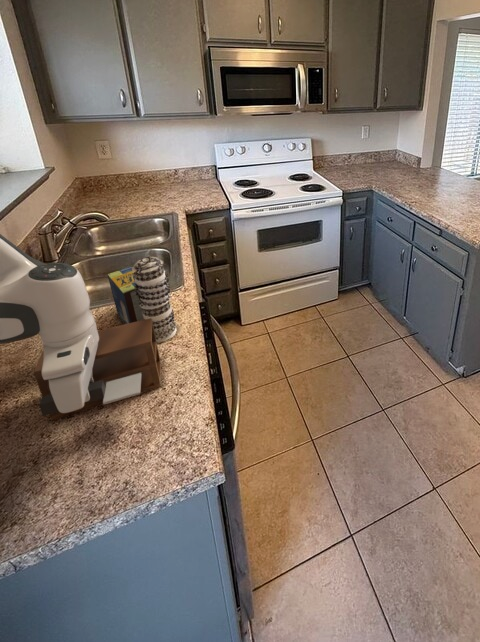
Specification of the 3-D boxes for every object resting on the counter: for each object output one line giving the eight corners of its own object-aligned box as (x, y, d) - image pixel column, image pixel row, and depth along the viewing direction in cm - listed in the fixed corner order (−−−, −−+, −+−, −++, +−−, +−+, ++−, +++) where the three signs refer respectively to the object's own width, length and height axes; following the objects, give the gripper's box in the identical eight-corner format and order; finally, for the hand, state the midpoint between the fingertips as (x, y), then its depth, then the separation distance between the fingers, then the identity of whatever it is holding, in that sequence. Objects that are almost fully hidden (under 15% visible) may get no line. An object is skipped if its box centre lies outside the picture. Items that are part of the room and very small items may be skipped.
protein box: (149, 301, 125) (141, 262, 119) (167, 321, 114) (159, 279, 109) (116, 315, 118) (106, 274, 113) (133, 337, 108) (122, 292, 102)
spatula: (39, 423, 71) (35, 412, 70) (48, 400, 76) (44, 389, 75) (140, 394, 78) (137, 383, 77) (141, 374, 83) (139, 364, 82)
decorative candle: (182, 334, 108) (168, 261, 100) (149, 348, 103) (132, 272, 94) (173, 320, 115) (160, 250, 107) (142, 331, 110) (126, 259, 101)
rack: (51, 420, 81) (33, 372, 76) (61, 388, 90) (45, 343, 85) (160, 386, 90) (150, 341, 85) (160, 360, 98) (151, 317, 94)
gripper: (65, 314, 79) (79, 363, 84) (38, 380, 61) (57, 438, 66) (97, 307, 81) (109, 356, 86) (81, 369, 64) (97, 426, 68)
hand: (87, 392), depth 76 cm, fingers closed on spatula, 2 cm apart
